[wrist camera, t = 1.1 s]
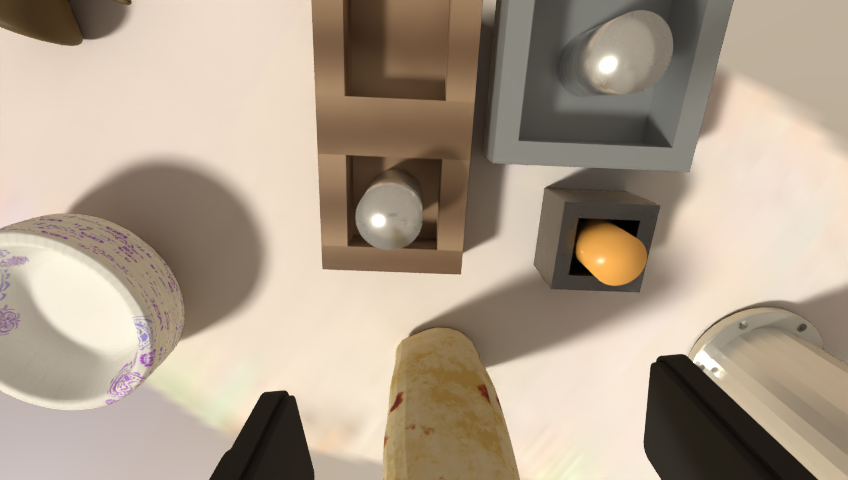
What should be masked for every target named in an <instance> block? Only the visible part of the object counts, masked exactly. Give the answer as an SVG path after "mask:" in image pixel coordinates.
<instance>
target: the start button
mask: <svg viewBox="0 0 848 480" xmlns="http://www.w3.org/2000/svg"><path fill="white" fill-rule="evenodd" d="M572 254H573V255H574V256H575V257H576V258H577V259H578V260H579V261H580V262H581V263H582V264H583V265H584V266H585V267H586V268H587V269H588V270H589V271H590V272H591V273H592V274H593V275H594V276H595V277H596V278H597V279H598V280H599V281H601V282H602V283H604V284H607V285H612V286H618V285H623V284H626V283H629V282H631V281H632V280H634V279H635V278H636V277H638V276H639V275H640V273H641V272H642V271H643V269H644V267H645V265H646V261H647V252H646V248H645V246H644V245H643V243H642V242H641V241H640V240H639V239H637V238H636V237H634V236H632V235H631V234H629V233H627V232H626V231H624V230H622V229H621V228H619V227H618V226H616V225H614V224H613V223H611V222H609V221H608V220H606V219H591V218H588V219H586V220H584V221H582V222H580V223H579V224H578V225H577V230H576V236H575V241H574V247H573V253H572Z"/></svg>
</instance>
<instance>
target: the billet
mask: <svg viewBox="0 0 848 480" xmlns="http://www.w3.org/2000/svg"><path fill="white" fill-rule="evenodd" d="M672 53H673V37H672V33H671V30H670V28H669V26H668V24H667V23H666V22H665V20H664V19H663V18H662V17H660V16H659V15H657V14H655V13H653V12H650V11H645V10H637V11H632V12H629V13H626V14H624V15H622V16H619V17H617V18H615V19H613V20H611V21H609V22H606V23H604V24H602V25H600V26H598V27H595V28H593V29H591V30H589V31H587V32H584V33H582V34H580V35H578V36H576V37H574V38H573V39H571V40H570V41H569V42H568V43H567V44H566V45H565V47H564V48H563V50H562V51H561V53H560V56H559V59H558V63H557V74H558V78H559V81H560V83H561V85H562V87H563V88H564V89H565V90H566V91H567V92H569V93H570V94H572V95H575V96H579V97H588V96H604V95H620V94H633V93H638V92H641V91H644V90H646V89H648V88H649V87H651V86H652V85H654V84H655V83H656V82H657V81H658V80H659V79H660V78H661V77H662V76H663V74H664V73H665V71H666V70H667V68H668V66H669V63H670V61H671V58H672Z"/></svg>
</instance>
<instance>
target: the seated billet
mask: <svg viewBox="0 0 848 480" xmlns="http://www.w3.org/2000/svg"><path fill="white" fill-rule="evenodd" d="M355 218H356V225H357V228H358V230H359V232H360V234H361V236H362V237H363V238H364V239H365V240H366V241H367V242H368V243H369V244H371V245H372V246H374V247H376V248H379V249H383V250H397V249H401V248H403V247H406V246H407V245H409V244H410V243H412V242H413V241H414V240H415V239H416V237H417V236H418V234H419V232H420V230H421V227H422V221H423V201H422V189H421V186H420V184H419V182H418V180H417V179H416V178H415V177H414V176H413V175H412V174H410V173H408V172H407V171H404V170H400V169H390V170H387V171H384V172H382V173H380V174H379V175H378V176H377V177H376V178H375V179H374V180H373V182H372V183H371V185H370V186H369V188H368V189H367V191H366V193H365V194H364V196H363V197H362V199H361V200H360V202H359V204H358V206H357V209H356V217H355Z"/></svg>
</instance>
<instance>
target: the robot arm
mask: <svg viewBox="0 0 848 480" xmlns="http://www.w3.org/2000/svg"><path fill="white" fill-rule="evenodd" d="M644 449H645V453H646V455H647V458H648V459H649V461H650V463H651V464H652V466H653V467H654V469H655V470H656V472H657V473H658V475H659V477H660V478H661V480H848V365H846V364H845V363H843V362H841V361H840V360H838V359H837V358H835V357H833V356H832V355H830V354H828V353H827V352H825V351H824V346H823V341H822V338H821V336H820V334H819V332H818V330H817V329H816V328H815V327H814V326H813V325H812V324H811V323H810V322H809V321H807V320H805V319H804V318H802V317H801V316H799V315H797V314H795V313H793V312H790V311H788V310H784V309H780V308H773V307H761V308H753V309H748V310H745V311H741V312H738V313H735V314H733V315H731V316H729V317H727V318H724V319H723V320H721V321H720V322H718V323H717V324H715V325H714V326H712V327H711V328H710V329H709V330H708V331H707V332H705V333H704V334H703V335H702V336H701V338H700V339H699V340H698V341H697V342H696V344H695V345H694V347H693V348H692V350H691V352H690V354H689V356H688V357H687V356H686V355H683V354H677V355H666V356H659V357H658V358H657V360H656V362H655V363H652V364H651V368H650V378H649V389H648V400H647V411H646V422H645V433H644ZM209 480H314V469H313V465H312V462H311V458H310V454H309V450H308V446H307V442H306V438H305V434H304V430H303V426H302V422H301V419H300V415H299V411H298V407H297V403H296V399H295V397H294V396H289V394H288V392H287V391H285V390H284V391H273V392H264V393H263V394H262V395H261V396H260V398H259V400H258V401H257V403H256V405H255V407H254V409H253V410H252V412H251V414H250V416H249V418H248V419H247V421H246V423H245V425H244V426H243V428H242V430H241V432H240V434H239V435H238V437H237V439H236V441H235V443H234V444H233V446H232V448H231V449H230V450H228V451H227V452H226V453H225V454H224V455H223V457H222V458H221V460H220V462H219V463H218V465H217V467H216V469H215V470H214V473H213V474H212V476H211V477H210V479H209Z"/></svg>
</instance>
